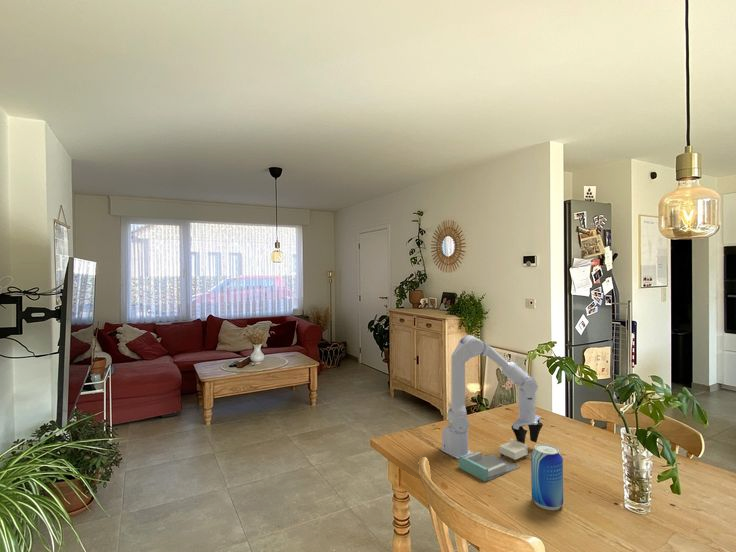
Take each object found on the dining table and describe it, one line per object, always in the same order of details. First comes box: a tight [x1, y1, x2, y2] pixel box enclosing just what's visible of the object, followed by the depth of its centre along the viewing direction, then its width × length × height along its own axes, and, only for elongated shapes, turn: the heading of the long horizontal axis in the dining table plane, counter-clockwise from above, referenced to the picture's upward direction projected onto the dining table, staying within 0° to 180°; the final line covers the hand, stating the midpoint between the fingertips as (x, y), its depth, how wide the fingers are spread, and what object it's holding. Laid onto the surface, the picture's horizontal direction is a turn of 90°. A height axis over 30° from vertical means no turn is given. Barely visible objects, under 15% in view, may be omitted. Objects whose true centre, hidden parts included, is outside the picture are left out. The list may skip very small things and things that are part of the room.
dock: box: [458, 451, 521, 483], centre depth 138 cm, size 12×18×5 cm
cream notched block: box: [498, 438, 529, 463], centre depth 145 cm, size 7×7×5 cm
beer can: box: [530, 443, 564, 511], centre depth 116 cm, size 8×8×16 cm
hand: (527, 443), depth 150 cm, fingers open, 7 cm apart
